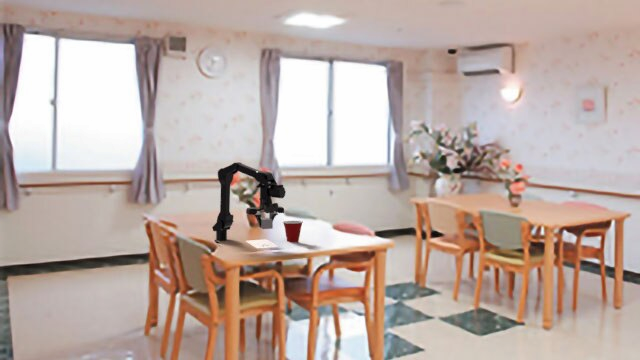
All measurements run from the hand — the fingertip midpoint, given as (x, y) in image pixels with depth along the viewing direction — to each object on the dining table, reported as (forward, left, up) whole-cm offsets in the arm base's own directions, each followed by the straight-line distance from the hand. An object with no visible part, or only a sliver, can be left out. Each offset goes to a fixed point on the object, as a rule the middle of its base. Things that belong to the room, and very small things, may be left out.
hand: (265, 227), depth 300 cm
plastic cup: (-7, +18, -11) cm, 22 cm away
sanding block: (0, 0, 0) cm, 0 cm away
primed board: (-5, 0, -11) cm, 12 cm away
